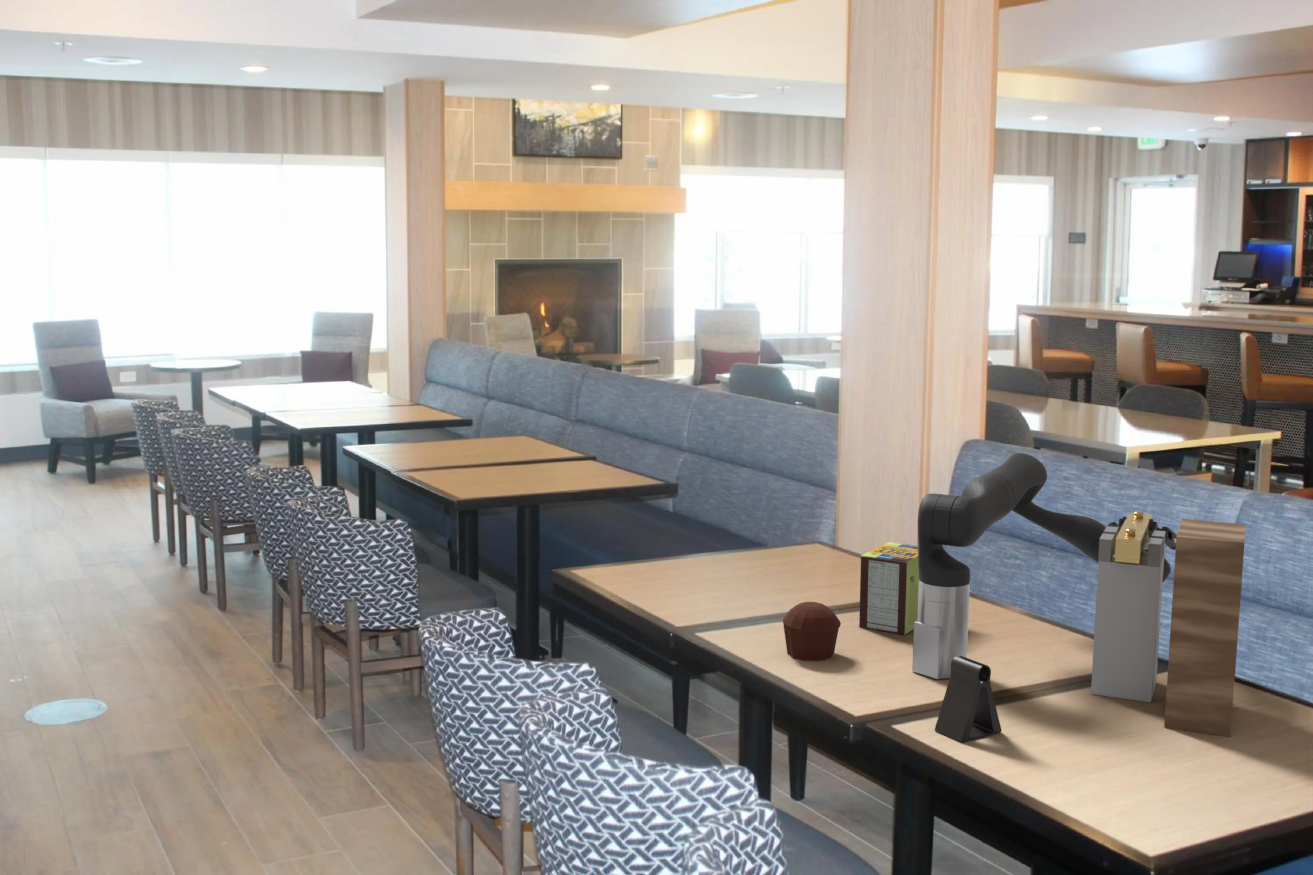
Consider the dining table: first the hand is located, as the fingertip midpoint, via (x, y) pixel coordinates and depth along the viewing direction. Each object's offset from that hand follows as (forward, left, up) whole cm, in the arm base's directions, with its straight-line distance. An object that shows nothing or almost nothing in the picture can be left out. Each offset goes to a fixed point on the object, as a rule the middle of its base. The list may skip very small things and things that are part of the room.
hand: (1137, 522), depth 237 cm
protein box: (-9, +49, -29) cm, 58 cm away
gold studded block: (-5, -3, -3) cm, 7 cm away
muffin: (-39, +44, -29) cm, 65 cm away
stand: (-11, -20, -29) cm, 36 cm away
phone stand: (-48, -1, -29) cm, 56 cm away
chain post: (-8, -4, -29) cm, 30 cm away
